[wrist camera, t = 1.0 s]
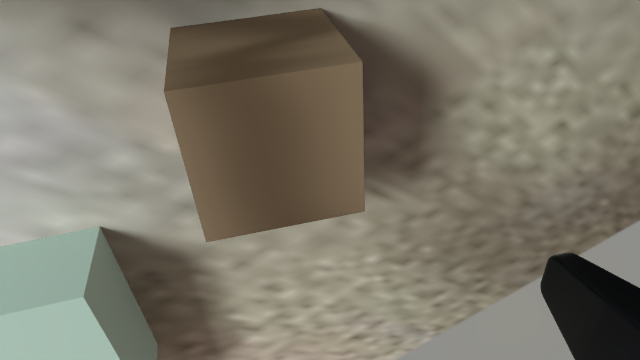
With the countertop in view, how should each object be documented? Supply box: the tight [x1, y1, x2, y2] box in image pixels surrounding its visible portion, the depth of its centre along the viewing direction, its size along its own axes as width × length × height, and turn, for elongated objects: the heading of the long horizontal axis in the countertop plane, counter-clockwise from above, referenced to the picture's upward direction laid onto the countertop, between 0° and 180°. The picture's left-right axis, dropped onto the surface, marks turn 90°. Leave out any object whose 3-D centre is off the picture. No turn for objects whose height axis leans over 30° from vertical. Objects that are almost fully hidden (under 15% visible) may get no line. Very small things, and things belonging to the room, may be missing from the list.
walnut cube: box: [164, 8, 365, 242], centre depth 15 cm, size 5×5×5 cm
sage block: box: [0, 226, 158, 360], centre depth 20 cm, size 8×8×4 cm
